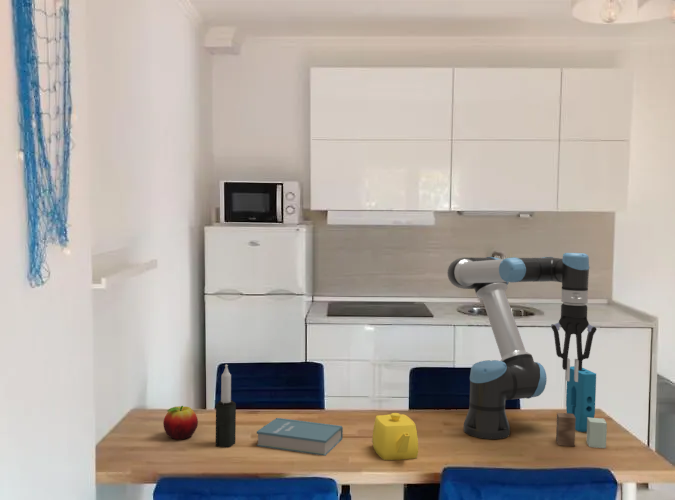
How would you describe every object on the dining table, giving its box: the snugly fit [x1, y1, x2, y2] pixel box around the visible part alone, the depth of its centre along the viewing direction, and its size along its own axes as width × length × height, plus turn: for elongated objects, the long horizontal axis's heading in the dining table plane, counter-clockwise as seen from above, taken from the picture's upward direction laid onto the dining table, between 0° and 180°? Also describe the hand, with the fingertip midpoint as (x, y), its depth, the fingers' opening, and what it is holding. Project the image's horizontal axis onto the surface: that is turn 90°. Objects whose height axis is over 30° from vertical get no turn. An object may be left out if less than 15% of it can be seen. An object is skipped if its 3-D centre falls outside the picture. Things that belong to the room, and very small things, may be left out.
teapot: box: [371, 412, 419, 461], centre depth 197 cm, size 20×12×12 cm, turn 12°
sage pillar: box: [585, 417, 608, 449], centre depth 207 cm, size 5×5×8 cm
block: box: [565, 365, 597, 433], centre depth 225 cm, size 12×5×20 cm, turn 8°
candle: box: [215, 364, 237, 448], centre depth 201 cm, size 5×5×25 cm
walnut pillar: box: [555, 412, 576, 447], centre depth 208 cm, size 5×5×9 cm
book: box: [256, 417, 344, 457], centre depth 205 cm, size 23×16×5 cm
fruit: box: [163, 405, 199, 440], centre depth 208 cm, size 11×11×10 cm
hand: (571, 380), depth 199 cm, fingers closed
